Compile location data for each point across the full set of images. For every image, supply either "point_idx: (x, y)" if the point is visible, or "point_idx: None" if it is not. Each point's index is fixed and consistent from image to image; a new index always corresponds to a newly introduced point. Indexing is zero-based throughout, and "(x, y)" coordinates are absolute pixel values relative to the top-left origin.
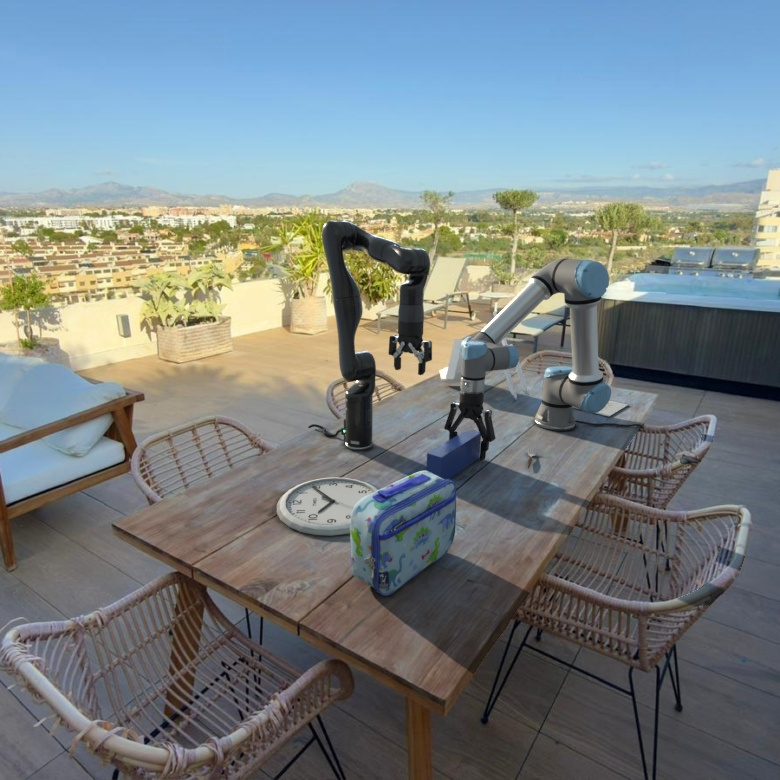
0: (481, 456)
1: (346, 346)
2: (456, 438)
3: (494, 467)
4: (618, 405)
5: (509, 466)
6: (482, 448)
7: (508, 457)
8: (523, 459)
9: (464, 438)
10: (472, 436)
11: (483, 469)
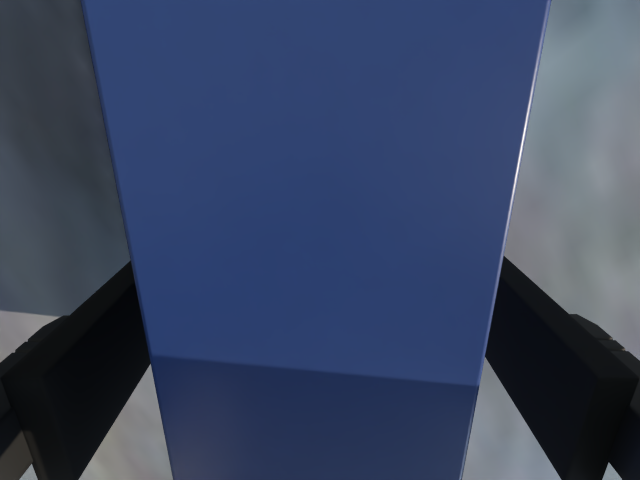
0: (130, 262)
1: None
2: (434, 119)
3: (70, 263)
4: None
5: (9, 343)
6: (73, 315)
7: (112, 451)
8: (27, 475)
9: (269, 247)
10: (203, 427)
11: (105, 173)
